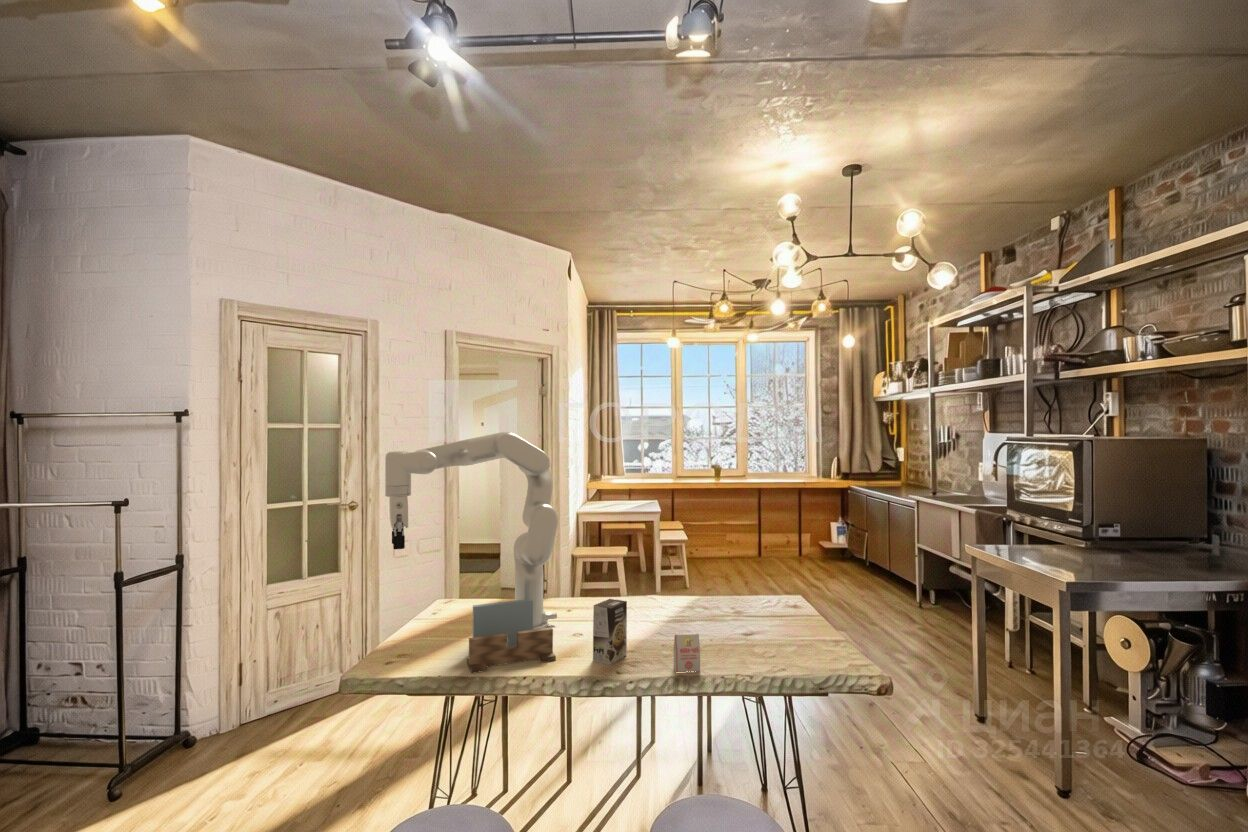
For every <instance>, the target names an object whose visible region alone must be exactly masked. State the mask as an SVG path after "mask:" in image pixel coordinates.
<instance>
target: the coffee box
mask: <svg viewBox="0 0 1248 832" xmlns="http://www.w3.org/2000/svg"><path fill="white" fill-rule="evenodd" d="M627 602H628V601H627V600H621V599H614V598H613V599H612V598H608V599H606V600H604V601H601V602H598V603H596V604H593V620H592V623H593V626H592V628H593V629H592V661H593V662H597V663H601V664H604V663H605V665H609V666H610V665H612V663H613V664H614V663H615V662H617V661H618V662H619V661H620V660H622V659H623V658H625V657H627V644H628V643H627V640H628V639H627V638H628V637H627V635H628V633H627V632H628V631H627V626H628V625H627V624H628V623H627V622H628V620H627V619H628V614H627V613H628V612H627V609H628V605H627V604H628V603H627ZM624 656H625V657H624ZM619 659H620V660H619Z"/></svg>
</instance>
